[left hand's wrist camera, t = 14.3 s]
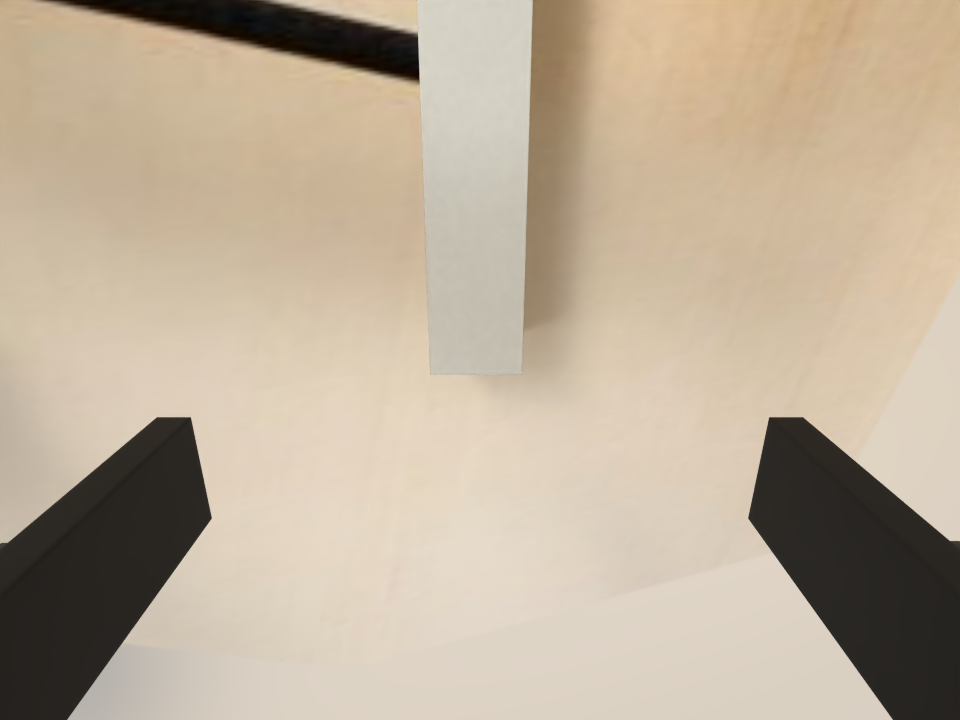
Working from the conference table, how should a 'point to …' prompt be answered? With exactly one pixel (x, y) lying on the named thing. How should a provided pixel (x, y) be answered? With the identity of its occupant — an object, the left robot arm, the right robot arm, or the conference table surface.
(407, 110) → the conference table surface
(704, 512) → the conference table surface
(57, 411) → the conference table surface
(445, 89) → the bar
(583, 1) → the conference table surface
